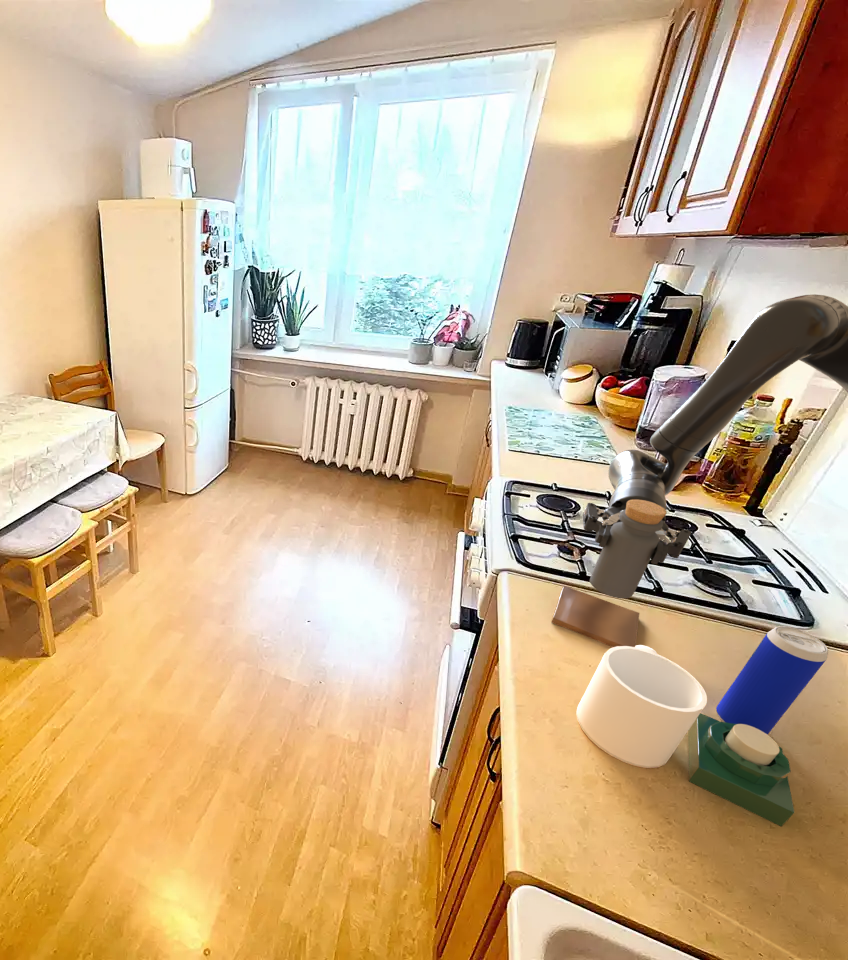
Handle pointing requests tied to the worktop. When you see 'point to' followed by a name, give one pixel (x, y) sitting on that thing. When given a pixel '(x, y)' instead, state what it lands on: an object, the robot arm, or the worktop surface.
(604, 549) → the bottle
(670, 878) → the worktop surface
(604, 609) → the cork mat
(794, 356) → the robot arm
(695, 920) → the worktop surface
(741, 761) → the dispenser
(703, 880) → the worktop surface
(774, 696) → the beverage can
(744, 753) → the cream disc
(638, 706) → the mug
